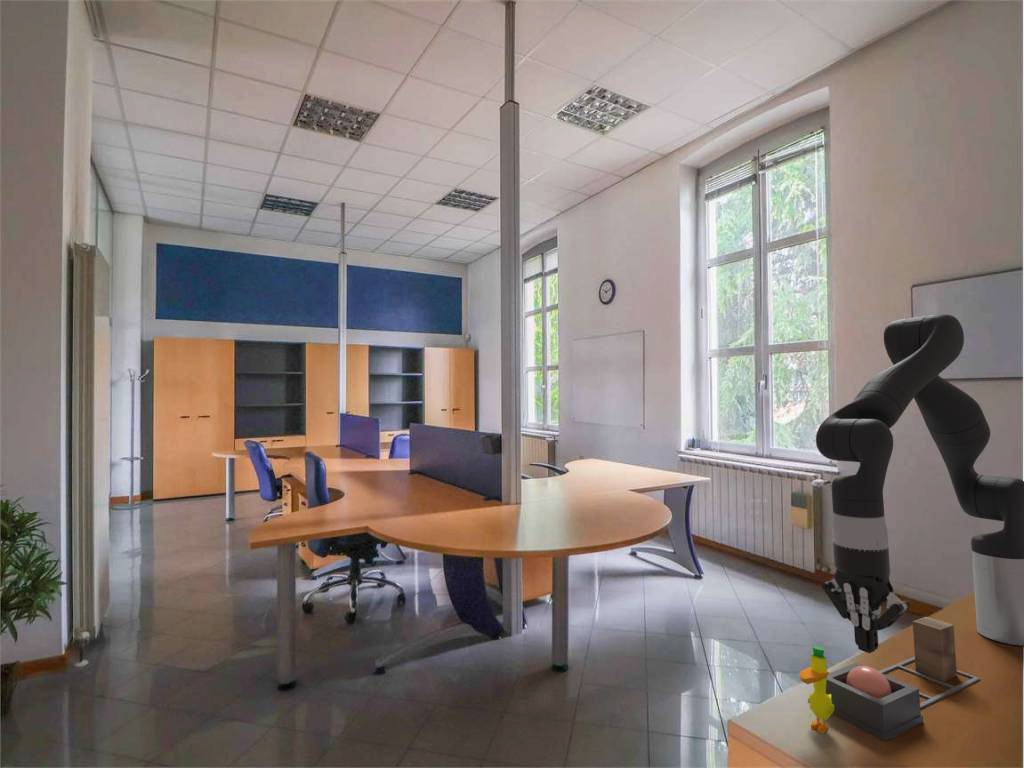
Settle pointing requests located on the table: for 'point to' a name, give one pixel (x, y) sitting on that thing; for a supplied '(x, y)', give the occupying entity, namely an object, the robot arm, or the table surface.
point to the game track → (940, 696)
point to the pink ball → (869, 681)
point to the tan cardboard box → (934, 648)
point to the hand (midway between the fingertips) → (866, 650)
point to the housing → (875, 705)
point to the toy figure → (818, 688)
